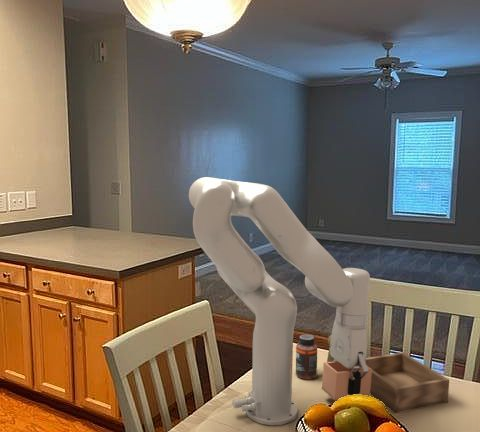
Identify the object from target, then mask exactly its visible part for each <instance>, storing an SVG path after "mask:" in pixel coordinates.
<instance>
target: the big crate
mask: <svg viewBox="0 0 480 432" xmlns="http://www.w3.org/2000/svg"><path fill="white" fill-rule="evenodd" d="M366 365H367V366H368V367H370V368H371V369H372V374H371V387H370V396H372V397H374V398H375V399H376V398H377V399H376V400H378V399H379V400H380V401H382V402H383V403H384V404H385V405H384V404H383V403H382V404H383V405H384V406H385V407H386V408H388V409H389V410H390V411H392V412H393V413H394V414H397V413H402V412H406V411H412V410H416V409H423V408H427V407H432V406H437V405H443V404H447V403H448V402H449V389H450V379H448V378H447V377H445V376H443V375H442V374H440V373H439V372H437V371H435V370H434V369H431V368H430V367H428V366H427V365H426V364H423V362H421V361H419V360H417V359H415V358H414V357H412V356H410V355H408V354H406V353H405V352H395V353H390V354H384V355H377V356H371V357H370V356H369V357H366ZM379 400H378V401H379ZM380 401H379V402H380Z"/></svg>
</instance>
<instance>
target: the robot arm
mask: <svg viewBox="0 0 480 432" xmlns="http://www.w3.org/2000/svg"><path fill="white" fill-rule="evenodd" d="M188 199H189V203H190V204H191V206H192V207H193V209H194V211H193V216H192V229H193V235H194V238H195V240H196V242H197V244H198V245H199V246H200V248H201V250H203V252H204V254H206V256H207V257H208V259H209V260H210V261H211V262H212V263H213V264H214V266H215V267H216V271H217V273H218V275H219V277H220V278H221V279H222V280H223V281H224V282H225V283H226V285H228V287H229V288H230V289H231V290H232V292H234V293H235V294H236V296H238V298H239V299H240V300H241V301H242V303H244V305H245V306H246V308H248V309H249V310H250V311H251V312H252V313H253V314H254V316H255V324H254V328H253V333H252V372H251V375H252V376H251V377H252V378H251V379H252V381H251V383H252V384H251V387H252V388H251V390H249V391H248V393H247V394H248V396H245V397H244V398H237V399H236V398H235V399H232V401H231V402H232V407H233V409H238V408H240V411H241V412H242V413H243V412H245V414H246V416H247V417H248V418H250V420H252V421H253V422H255V423H259V424H261V425H265V426H266V425H268V426H279V425H280V426H281V425H286V424H289V423H290V422H293V421H294V420H295V419H296V418H297V417H298V414H299V412H298V411H299V408H298V405H297V403H296V402H294V400H292V398H293V397H292V394H293V392H292V391H293V360H294V359H293V354H294V353H293V352H294V351H293V349H294V344H293V343H294V330H295V324H296V319H297V313H298V305H297V301H296V297H295V296H294V294H293V292H291V291H290V289H288V288H287V287H286V286H285V285H283V284H282V283H280V282H278V281H277V280H276V279H274V278H273V277H272V276H271V275H270V274H269V273H268V272H267V271H266V268H265V265H264V262H263V260H262V259H261V257H260V256H259V255H258V254H257V253H255V251H254V250H253V249H252V248H251V247H250V246H249V245H248V243H247V242H246V241H245V240H244V239H243V238H242V236H241V235H240V233H239V232H238V231H237V230H236V229H235V227H234V225H233V223H232V216H234V217H236V216H237V217H244V218H245V217H246V218H249V219H250V220H251V221H252V222H253V223H254V224H255V225H256V227H257V228H258V229H259V230H260V231H261V233H262V235H264V236H265V238H266V239H267V241H268V242H269V243H270V244H271V246H272V247H273V248H274V249H275V250H276V252H277V253H278V254H279V255H280V256H281V257H282V258H283V259H284V260H286V261H287V263H289V264H291V265H292V266H294V267H295V268H296V269H297V270H299V271H300V272H301V273H302V275H304V276H305V278H304V285H305V288H306V289H307V291H308V292H309V293H310V294H311V295H313V296H314V297H316V298H317V299H319V300H321V301H323V302H324V303H325V304H327V305H328V306H330V307H333V308H336V311H335V319H334V322H333V325H332V329H331V334H330V335H331V343H330V346H329V347H330V355H331V356H332V357H333V361H338V362H339V363H341V364H342V365H343V366H345V367H346V368H348V369H349V370H350V377H351V378H349V382H348V394H349V395H353V394H359V393H360V387H361V379H363V377H364V376H365V374H367V373H368V368H367V365H366V358H367V355H368V354H367V349H368V346H367V345H368V342H367V338H368V335H367V328H366V327H367V322H368V310H369V308H368V307H369V300H370V299H369V296H370V285H371V276H370V275H371V274H370V273H369V271H368V270H365V269H361V268H357V267H346V268H345V267H344V268H342V266H341V265H340V264H339V263H338V262H337V261H336V259H335V258H334V257H333V256H332V254H330V253H329V252H328V250H326V248H325V247H323V246H322V245H321V244H320V242H318V240H317V239H316V237H314V236H313V235H312V234H311V233H310V232H309V231H308V230H307V228H306V227H305V226H304V225H303V224H302V222H301V221H300V220H299V218H298V217H297V216H296V214H295V213H294V212H293V210H292V209H291V208H290V206H289V205H288V204H287V203H286V201H285V200H284V199H283V197H282V196H281V195H280V193H279V191H277V190H276V189H275V188H273V187H272V186H270V185H267V184H262V183H255V182H247V181H246V182H245V181H236V180H231V179H224V178H223V179H222V178H216V177H210V176H209V177H208V176H205V177H204V176H203V177H200V178H197V180H195V181H194V182H193V183H192V184H191V186H190V187H189V191H188ZM355 364H357V366H355ZM354 369H357V371H358V372H356V373H355V374H354Z"/></svg>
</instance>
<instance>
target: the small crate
mask: <svg viewBox="0 0 480 432" xmlns="http://www.w3.org/2000/svg"><path fill="white" fill-rule="evenodd" d="M322 364H323V365H322V366H323V367H322V368H323V369H322V381H321V383H322V384H321V390H322V391H324V393H326V394H327V395H328V396H329V398H331V399H332V400H333V401H335V402H336V401H339V400H338V399H339V398H341V397H344V396H347V395H349V394H348V382H349V378H351V377H350V370H349V369H348V368H346V367H345V366H343V365H342V364H341V363H339V362H338V361H333V362H327V361H326V362H323V363H322ZM355 366H357V364H355ZM367 368H368V373H367V374H365V376H364V377H363V379H361V387H360V393H359V394H362V395H368V396H367V397H370V396H371V394H370V387H371V374H372V369H371V368H370V367H368V366H367ZM356 372H358V371H357V369H354V374H355V373H356Z"/></svg>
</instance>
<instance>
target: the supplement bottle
mask: <svg viewBox="0 0 480 432" xmlns="http://www.w3.org/2000/svg"><path fill="white" fill-rule="evenodd" d="M317 375H318V345H317V344H316V343H315V337H314V336H313V335H311V334H302V335H300V336H299V341H298V342H297V343H296V345H295V376H297V378H299V379H303V380H311V379H314V378H317Z"/></svg>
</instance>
